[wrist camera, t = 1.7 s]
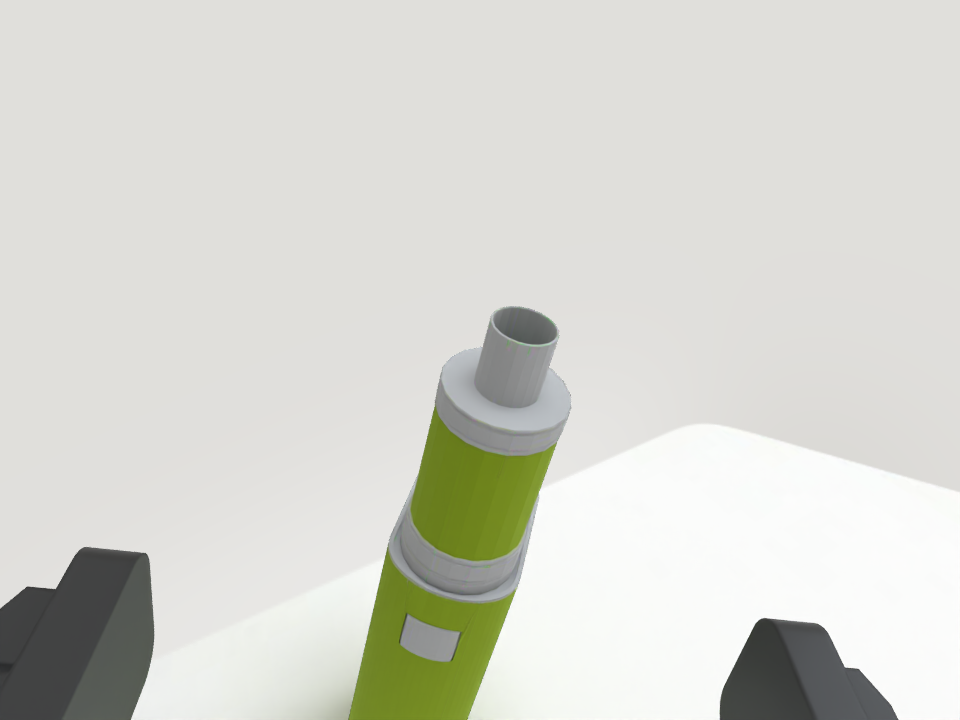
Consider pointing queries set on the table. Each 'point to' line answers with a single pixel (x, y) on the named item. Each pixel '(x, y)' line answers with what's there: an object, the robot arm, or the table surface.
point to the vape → (464, 525)
